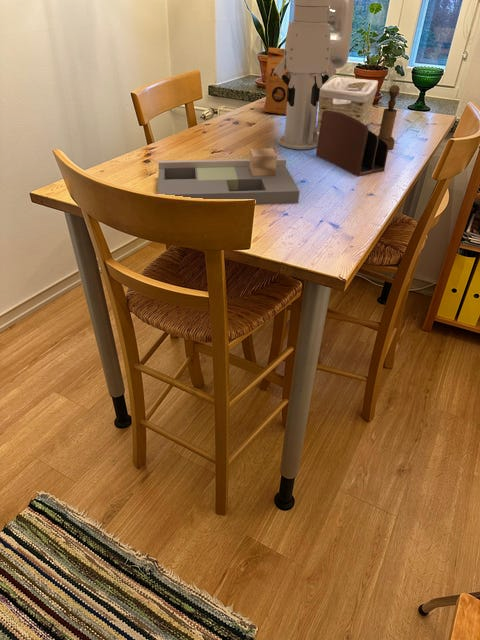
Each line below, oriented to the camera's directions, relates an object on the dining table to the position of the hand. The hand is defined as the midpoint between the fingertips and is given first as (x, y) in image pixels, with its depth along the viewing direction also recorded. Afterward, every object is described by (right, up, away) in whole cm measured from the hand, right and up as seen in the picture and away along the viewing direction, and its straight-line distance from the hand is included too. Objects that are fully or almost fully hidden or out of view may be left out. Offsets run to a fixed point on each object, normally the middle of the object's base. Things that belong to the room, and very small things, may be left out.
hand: (302, 104), depth 112 cm
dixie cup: (+27, +28, +69) cm, 79 cm away
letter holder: (+17, -6, +25) cm, 31 cm away
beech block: (-9, -13, +9) cm, 19 cm away
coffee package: (0, +28, +68) cm, 74 cm away
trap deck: (-19, -19, +7) cm, 27 cm away
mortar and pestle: (+31, +4, +38) cm, 49 cm away
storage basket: (+22, +15, +53) cm, 59 cm away
